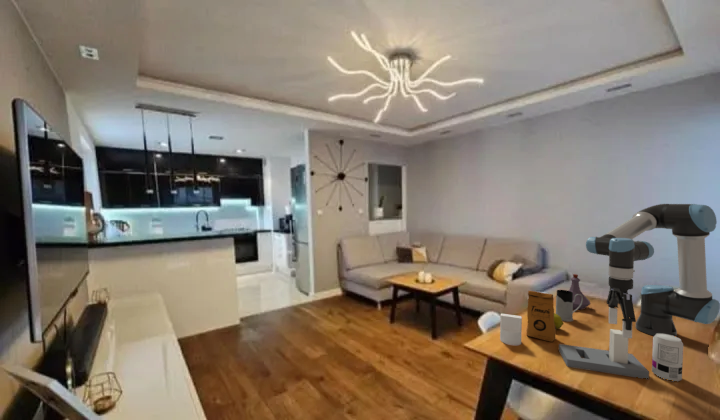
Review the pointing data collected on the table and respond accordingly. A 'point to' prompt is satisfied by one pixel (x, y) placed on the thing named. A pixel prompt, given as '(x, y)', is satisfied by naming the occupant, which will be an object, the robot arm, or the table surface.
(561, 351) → the socket plate
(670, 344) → the supplement can
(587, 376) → the table surface
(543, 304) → the coffee package
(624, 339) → the square peg
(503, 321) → the white piece
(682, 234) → the robot arm
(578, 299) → the flask
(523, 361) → the table surface
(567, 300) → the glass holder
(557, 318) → the lemon
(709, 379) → the table surface
